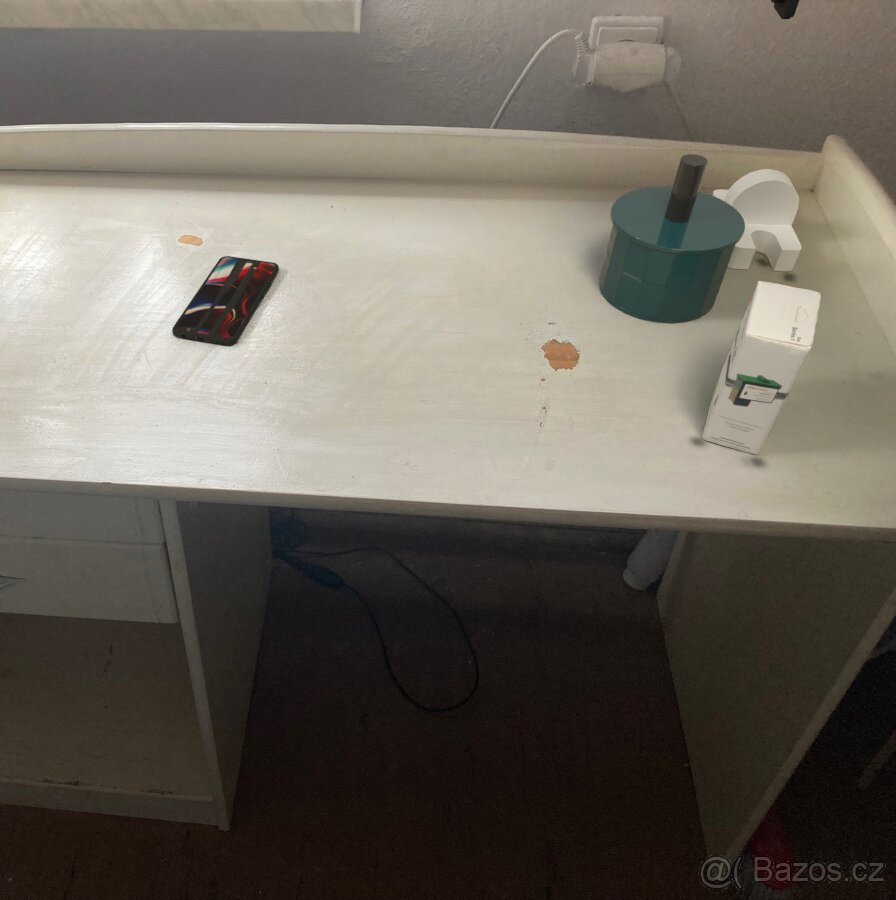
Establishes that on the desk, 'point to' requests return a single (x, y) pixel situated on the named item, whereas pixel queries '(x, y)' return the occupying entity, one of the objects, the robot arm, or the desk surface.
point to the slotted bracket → (764, 218)
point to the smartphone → (226, 300)
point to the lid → (679, 215)
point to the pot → (660, 280)
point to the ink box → (762, 366)
